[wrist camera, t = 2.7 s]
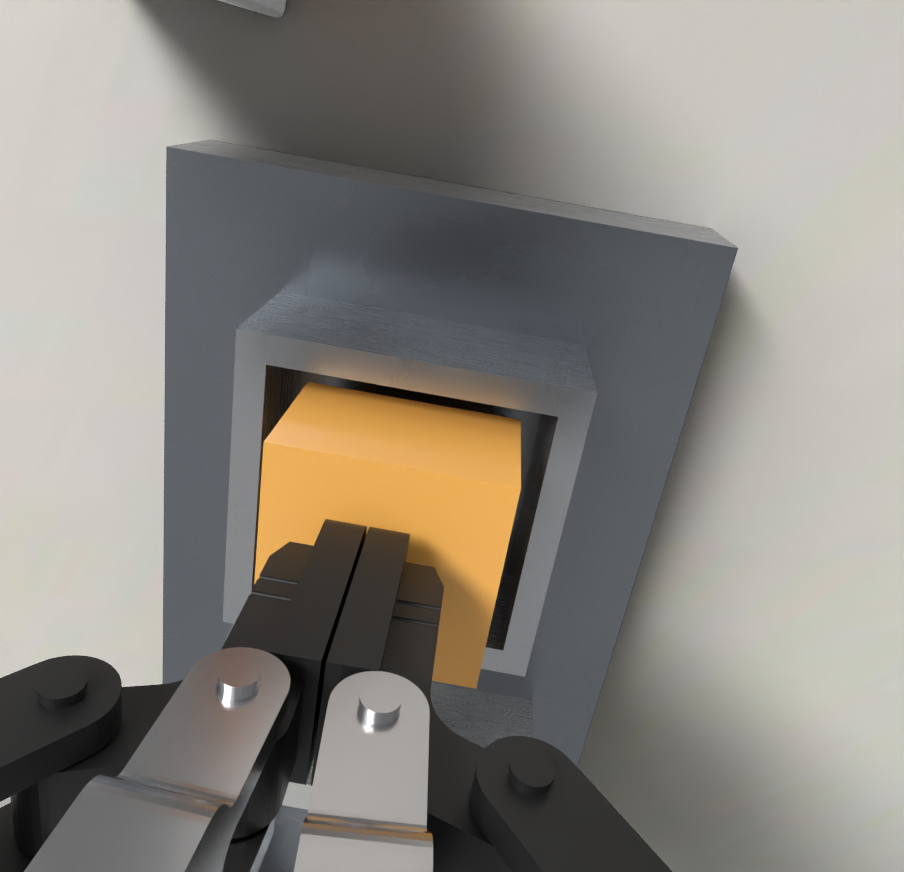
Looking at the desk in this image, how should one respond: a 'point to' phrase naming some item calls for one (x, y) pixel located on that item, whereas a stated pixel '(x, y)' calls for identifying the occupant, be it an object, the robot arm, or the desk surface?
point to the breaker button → (401, 496)
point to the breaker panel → (430, 394)
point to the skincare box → (261, 6)
